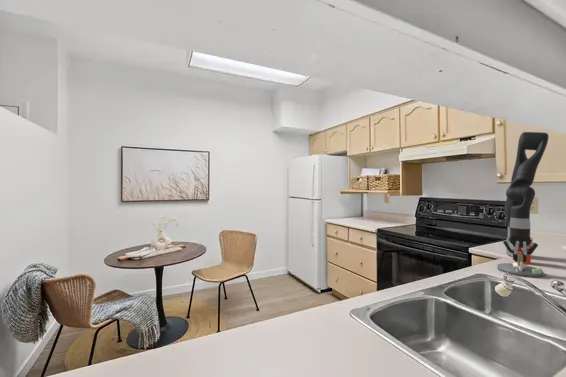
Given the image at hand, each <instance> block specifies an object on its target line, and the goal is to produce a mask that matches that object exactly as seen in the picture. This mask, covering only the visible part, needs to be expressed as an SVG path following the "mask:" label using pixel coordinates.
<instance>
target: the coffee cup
mask: <svg viewBox="0 0 566 377" xmlns="http://www.w3.org/2000/svg"><path fill="white" fill-rule="evenodd" d="M530 239H531V241H532V242H533V240H534V237H533V236H532V235H530ZM530 247H531V243H530V244H529V245H528V246H527V251H528V250H529V248H530ZM517 252H521V253H522V249H521V247H519V248H518V251H517ZM531 259H532V254H528V255H527V259H526V260H527V261H526V262H525V263H524V264H526V265H530V264H531V261H532V260H531Z"/></svg>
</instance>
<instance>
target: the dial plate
mask: <svg viewBox="0 0 566 377" xmlns="http://www.w3.org/2000/svg"><path fill="white" fill-rule="evenodd" d="M496 268H497V270H498V271H500V272H502V271H503V272H502V273H505V272H508V273H509V274H510V273H511V274H510V275H513V274H514V275H513V276H517V277H522V278H523V277H524V278H535V279H536V278H542V277H544V271H543V268H541V267H539V268H537V267H533V266H530V265H526V269H522V271H520V270H519V269H517V268H514V267H513V262H512V263H508V262H505V263H503V262H502V263H498V264H497V267H496ZM508 273H507V274H508ZM509 274H508V275H509Z"/></svg>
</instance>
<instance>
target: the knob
mask: <svg viewBox="0 0 566 377" xmlns="http://www.w3.org/2000/svg"><path fill="white" fill-rule="evenodd" d="M512 264H513V267H514V268H517V269H519V270H520V271H522V269H526V266H527V264H524V263H523V254H522V253H521V252H517V262H515V261H514V262H512Z"/></svg>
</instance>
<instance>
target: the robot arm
mask: <svg viewBox="0 0 566 377" xmlns="http://www.w3.org/2000/svg"><path fill="white" fill-rule="evenodd" d="M548 142H549V134H548V132H539V131H538V132H537V131H536V132H535V131H523V132H522V133H521V134H520V136H519V138H518V142H517V143H518V144H517V150H516V158H515V164H514V168H513V170H512V175H511V180H510V185H509V186H508V188H507V189H506V192H505V196H506V200H505V203H504V207H503V210H504V213H505V215H507V216H510V220H509V221H508V222H507V238H506V240H502V243H503V245H504V246H505V248H506V253H507V254H508V255H507V254H506V255H507V256H509V255H510V256H509V257H512V260H513V261H514V262H517V251H518V248H519V247H521V249H522V254H523V263H525V262H526V261H527V260H526V259H527V255H528V254H531V255H532V254H533V253H534V252H535V250H536V249H537V248H538V246H539V244H538V243H537V242H533V240H532V241H531V239H530V236H531V219H530V218H531V216H530V215H531V214H530V213H531V212H530V211H531V207H532V203H533V201H534V200H535V196H536V191H535V189H534V188H533V187H531V186H532V184H533V183H534V181H535V176H536V172H537V169H538V166H539V163H540V162H541V160H542V158H543V156H544V153H545V151H546V148H547V145H548ZM527 150H528V151H535V152H534V153H533V154H532V155H531V156H530V157H529V158H528V157H527V154H526V151H527ZM530 243H531V247H530V248H529V250H528V251H527V246H528V245H529V244H530Z"/></svg>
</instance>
